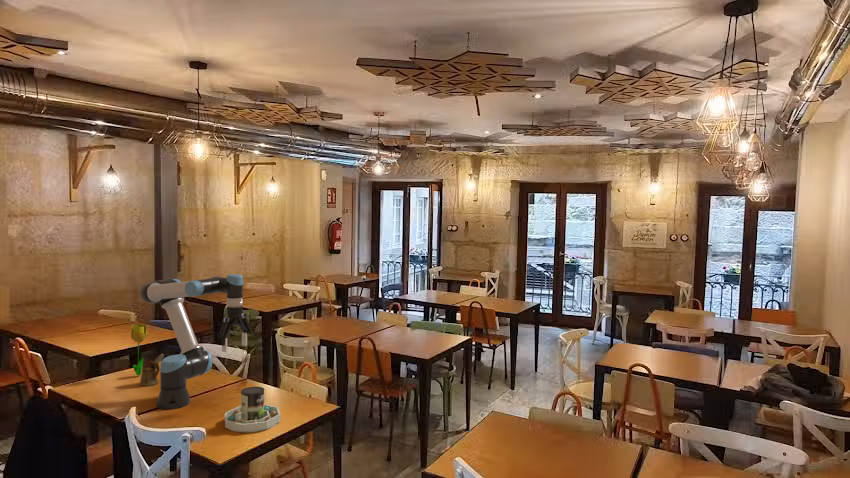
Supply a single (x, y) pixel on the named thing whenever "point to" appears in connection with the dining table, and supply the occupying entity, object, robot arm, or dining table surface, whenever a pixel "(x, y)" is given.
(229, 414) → the tray
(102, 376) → the dining table surface
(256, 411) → the coffee can
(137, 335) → the flower
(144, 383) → the wooden mug
